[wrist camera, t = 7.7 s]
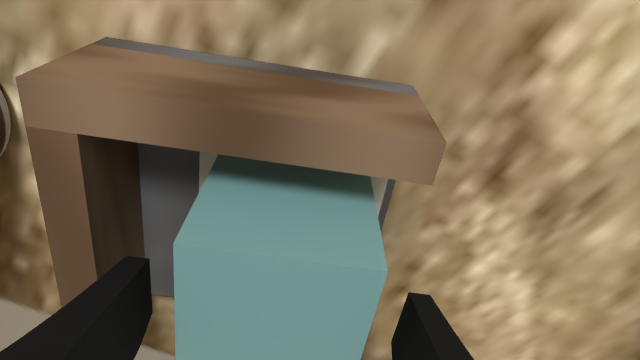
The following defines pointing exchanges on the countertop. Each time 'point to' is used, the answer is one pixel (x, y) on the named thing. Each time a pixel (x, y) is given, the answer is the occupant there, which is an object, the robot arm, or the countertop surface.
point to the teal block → (277, 264)
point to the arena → (194, 143)
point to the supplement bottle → (4, 123)
